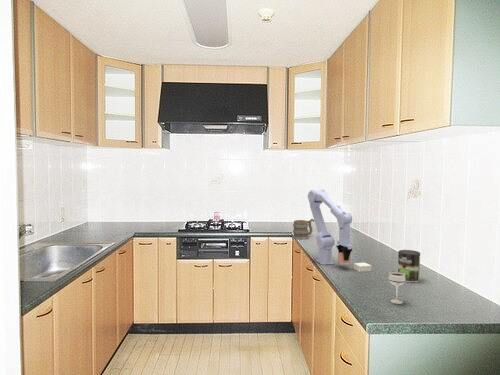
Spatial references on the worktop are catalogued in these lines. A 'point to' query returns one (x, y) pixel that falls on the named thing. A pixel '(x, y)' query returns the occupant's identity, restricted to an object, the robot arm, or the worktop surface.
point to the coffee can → (409, 265)
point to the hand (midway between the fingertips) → (344, 259)
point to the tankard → (302, 229)
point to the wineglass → (397, 282)
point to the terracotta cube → (342, 258)
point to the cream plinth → (362, 267)
